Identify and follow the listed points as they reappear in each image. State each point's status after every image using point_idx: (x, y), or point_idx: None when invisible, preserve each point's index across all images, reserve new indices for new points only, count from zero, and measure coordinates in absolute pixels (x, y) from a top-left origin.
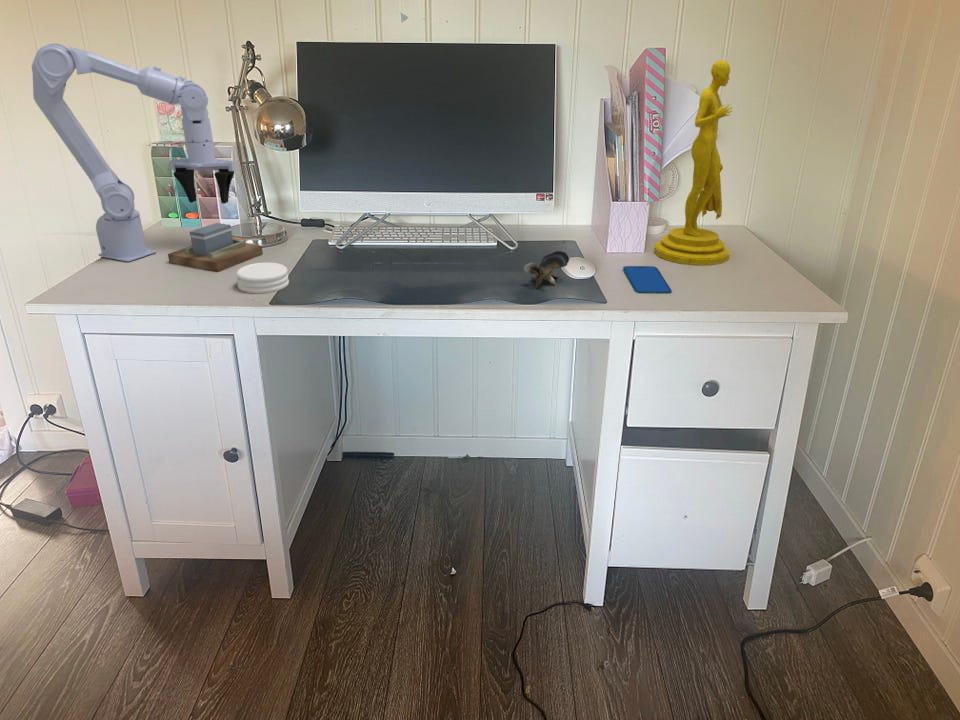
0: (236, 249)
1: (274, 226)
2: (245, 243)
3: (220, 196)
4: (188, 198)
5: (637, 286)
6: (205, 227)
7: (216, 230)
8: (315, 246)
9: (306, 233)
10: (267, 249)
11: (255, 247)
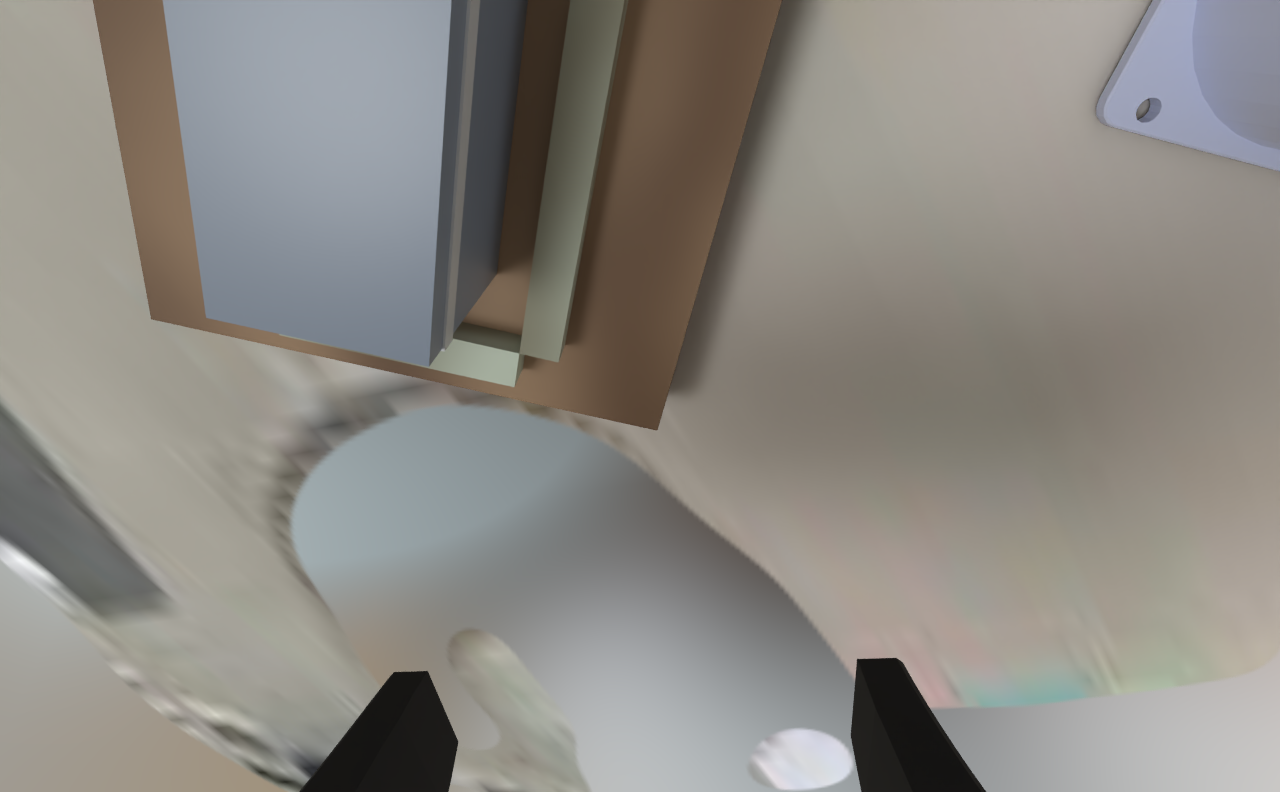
0: None
1: (545, 748)
2: (318, 345)
3: (370, 758)
4: (918, 705)
5: None
6: (400, 127)
7: (178, 51)
8: (45, 503)
9: (296, 681)
10: (262, 397)
11: (149, 258)
